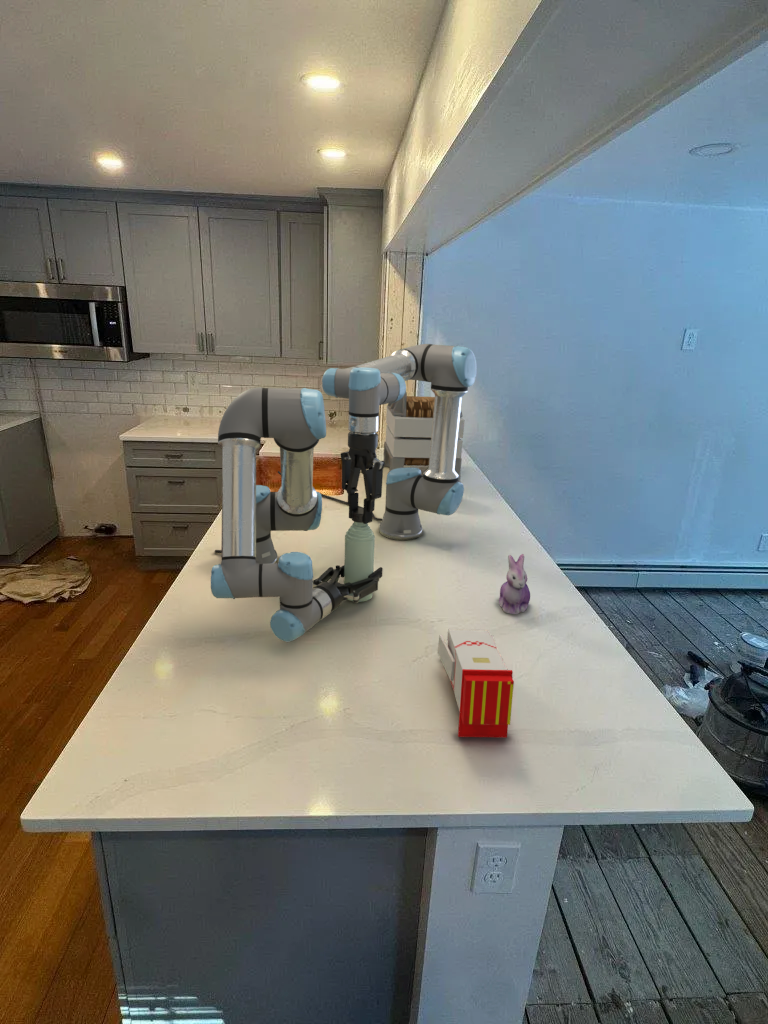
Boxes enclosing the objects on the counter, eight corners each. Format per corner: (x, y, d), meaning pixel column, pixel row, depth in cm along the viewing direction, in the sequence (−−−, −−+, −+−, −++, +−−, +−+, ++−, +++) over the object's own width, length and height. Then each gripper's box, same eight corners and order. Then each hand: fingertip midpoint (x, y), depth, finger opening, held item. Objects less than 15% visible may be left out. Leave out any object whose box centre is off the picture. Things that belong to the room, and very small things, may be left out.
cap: (354, 523, 146) (354, 514, 145) (349, 517, 150) (349, 508, 149) (371, 522, 147) (372, 513, 147) (366, 515, 152) (366, 507, 151)
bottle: (377, 598, 155) (380, 516, 147) (350, 604, 151) (352, 520, 143) (365, 586, 161) (368, 506, 153) (339, 591, 158) (340, 510, 150)
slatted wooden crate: (382, 463, 289) (386, 382, 275) (445, 464, 293) (451, 384, 279) (390, 482, 257) (394, 392, 243) (460, 483, 261) (468, 394, 247)
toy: (488, 613, 130) (523, 677, 101) (484, 667, 133) (517, 744, 104) (435, 612, 130) (455, 676, 101) (432, 666, 133) (451, 743, 103)
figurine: (512, 619, 147) (519, 566, 142) (488, 601, 156) (494, 551, 151) (540, 611, 151) (548, 560, 146) (515, 594, 160) (522, 546, 155)
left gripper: (287, 603, 145) (336, 571, 164) (356, 626, 136) (400, 589, 155) (286, 576, 143) (336, 547, 162) (357, 599, 133) (401, 564, 152)
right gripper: (327, 427, 144) (327, 514, 152) (379, 440, 133) (375, 532, 141) (348, 424, 149) (347, 508, 157) (399, 436, 138) (395, 525, 146)
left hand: (367, 568), depth 158 cm, fingers closed on bottle, 8 cm apart
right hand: (360, 519), depth 149 cm, fingers closed on cap, 4 cm apart
